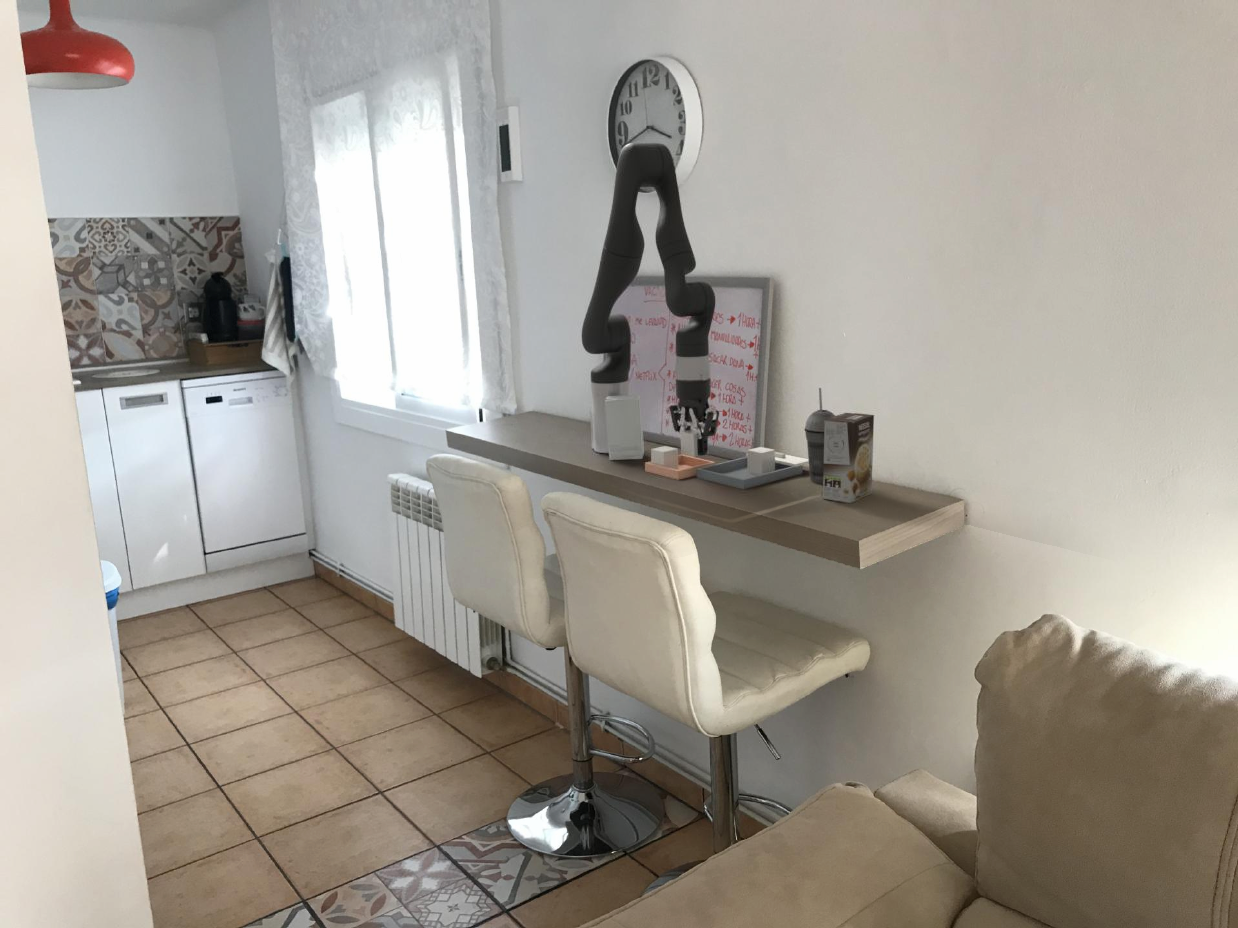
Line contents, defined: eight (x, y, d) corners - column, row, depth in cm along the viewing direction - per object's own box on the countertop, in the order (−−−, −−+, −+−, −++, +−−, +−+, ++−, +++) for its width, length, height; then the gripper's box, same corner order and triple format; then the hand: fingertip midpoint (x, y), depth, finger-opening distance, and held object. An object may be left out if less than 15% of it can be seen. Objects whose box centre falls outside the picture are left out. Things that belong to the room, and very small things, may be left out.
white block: (651, 471, 220) (650, 449, 218) (665, 467, 222) (665, 446, 221) (664, 474, 216) (663, 452, 215) (678, 470, 219) (677, 448, 218)
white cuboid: (681, 454, 218) (680, 431, 217) (695, 450, 220) (694, 429, 219) (694, 456, 215) (693, 434, 213) (708, 453, 217) (707, 431, 216)
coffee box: (851, 504, 191) (853, 422, 187) (822, 499, 195) (823, 419, 191) (872, 493, 198) (874, 414, 194) (843, 488, 202) (844, 411, 198)
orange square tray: (645, 473, 220) (644, 462, 219) (681, 465, 227) (681, 454, 226) (678, 482, 212) (678, 471, 211) (715, 473, 218) (715, 462, 218)
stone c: (747, 472, 215) (747, 450, 214) (760, 469, 218) (760, 446, 217) (761, 475, 212) (761, 453, 211) (774, 472, 215) (775, 449, 213)
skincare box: (644, 454, 239) (642, 393, 235) (642, 460, 233) (640, 398, 229) (609, 454, 239) (607, 394, 236) (607, 460, 234) (604, 398, 230)
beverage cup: (813, 489, 202) (814, 392, 197) (798, 481, 209) (798, 387, 204) (845, 485, 204) (847, 390, 199) (829, 477, 211) (830, 384, 206)
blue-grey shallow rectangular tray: (695, 479, 213) (695, 462, 212) (762, 463, 225) (762, 446, 225) (744, 492, 202) (744, 473, 201) (811, 473, 214) (811, 456, 213)
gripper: (658, 375, 217) (660, 451, 221) (702, 381, 206) (704, 461, 210) (683, 371, 221) (685, 446, 225) (728, 376, 210) (730, 455, 214)
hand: (694, 453), depth 217 cm, fingers closed on white cuboid, 4 cm apart
